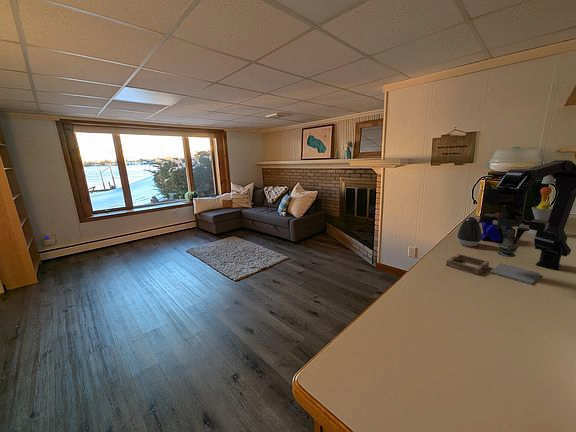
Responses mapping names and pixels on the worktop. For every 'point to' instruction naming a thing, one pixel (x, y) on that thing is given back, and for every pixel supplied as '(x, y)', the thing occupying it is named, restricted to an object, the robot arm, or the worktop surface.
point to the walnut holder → (454, 264)
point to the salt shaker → (508, 243)
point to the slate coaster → (515, 273)
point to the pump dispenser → (469, 232)
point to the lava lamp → (543, 203)
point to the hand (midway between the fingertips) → (508, 242)
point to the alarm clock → (490, 231)
